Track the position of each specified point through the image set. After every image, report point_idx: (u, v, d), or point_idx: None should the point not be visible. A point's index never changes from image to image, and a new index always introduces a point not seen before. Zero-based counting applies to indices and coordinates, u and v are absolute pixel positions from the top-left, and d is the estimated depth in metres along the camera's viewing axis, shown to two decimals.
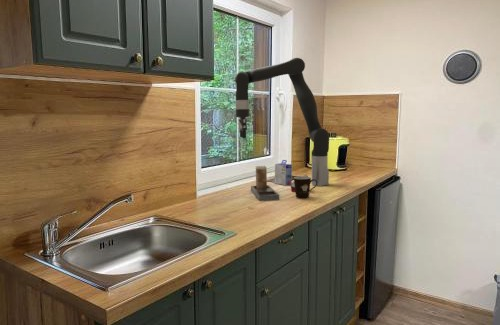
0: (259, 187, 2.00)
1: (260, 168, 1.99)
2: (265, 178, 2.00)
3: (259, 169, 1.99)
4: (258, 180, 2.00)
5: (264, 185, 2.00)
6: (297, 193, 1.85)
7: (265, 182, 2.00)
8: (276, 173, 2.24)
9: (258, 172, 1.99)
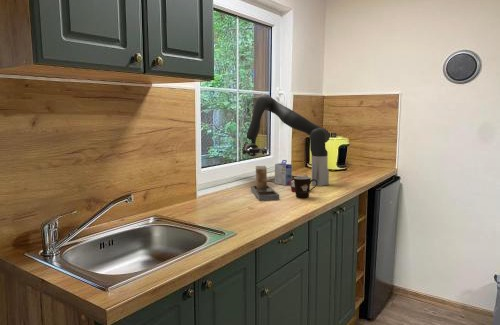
0: (259, 187, 2.00)
1: (260, 168, 1.99)
2: (265, 178, 2.00)
3: (259, 169, 1.99)
4: (258, 180, 2.00)
5: (264, 185, 2.00)
6: (297, 193, 1.85)
7: (265, 182, 2.00)
8: (276, 173, 2.24)
9: (258, 172, 1.99)
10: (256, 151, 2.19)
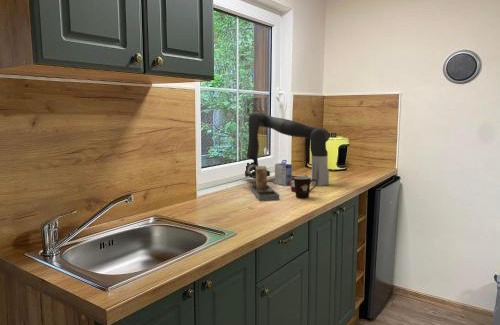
0: (259, 187, 2.00)
1: (260, 168, 1.99)
2: (265, 178, 2.00)
3: (259, 169, 1.99)
4: (258, 180, 2.00)
5: (264, 185, 2.00)
6: (297, 193, 1.85)
7: (265, 182, 2.00)
8: (276, 173, 2.24)
9: (258, 172, 1.99)
10: None
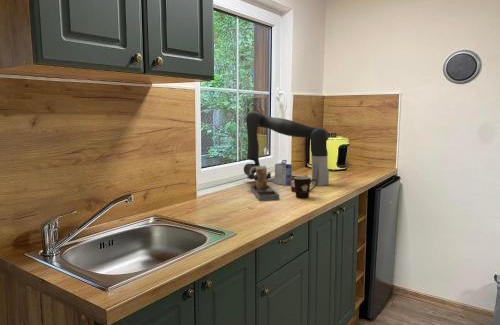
0: (259, 187, 2.00)
1: (260, 168, 1.99)
2: (265, 178, 2.00)
3: (259, 169, 1.99)
4: (258, 180, 2.00)
5: (264, 185, 2.00)
6: (297, 193, 1.85)
7: (265, 182, 2.00)
8: (276, 173, 2.24)
9: (258, 172, 1.99)
10: None
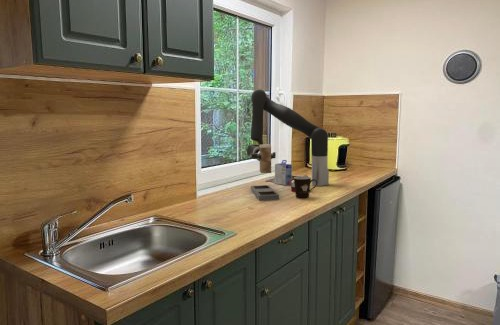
0: (263, 167, 1.85)
1: (264, 146, 1.83)
2: (269, 157, 1.84)
3: (263, 147, 1.83)
4: (262, 159, 1.84)
5: (268, 165, 1.85)
6: (297, 193, 1.85)
7: (269, 162, 1.85)
8: (276, 173, 2.24)
9: (262, 151, 1.83)
10: None
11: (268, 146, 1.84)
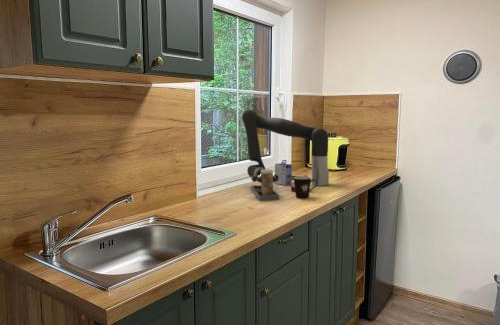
0: (265, 193, 1.84)
1: (266, 172, 1.83)
2: (271, 183, 1.84)
3: (265, 173, 1.83)
4: (264, 185, 1.84)
5: (270, 190, 1.85)
6: (297, 193, 1.85)
7: (271, 187, 1.85)
8: (276, 173, 2.24)
9: (264, 176, 1.83)
10: None
11: (270, 172, 1.84)
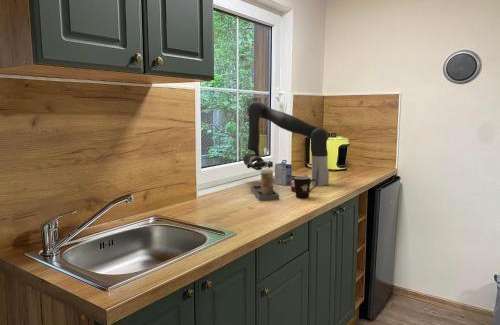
0: (265, 193, 1.84)
1: (266, 172, 1.83)
2: (271, 183, 1.84)
3: (265, 173, 1.83)
4: (264, 185, 1.84)
5: (270, 190, 1.85)
6: (297, 193, 1.85)
7: (271, 187, 1.85)
8: (276, 173, 2.24)
9: (264, 176, 1.83)
10: (261, 165, 2.06)
11: (270, 172, 1.84)
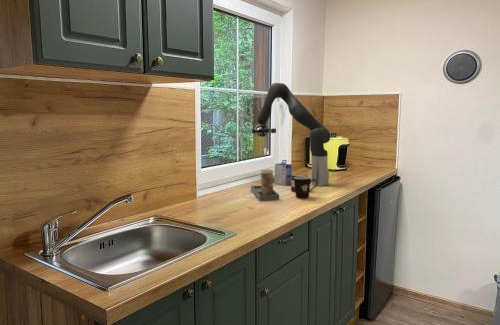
0: (265, 193, 1.84)
1: (266, 172, 1.83)
2: (271, 183, 1.84)
3: (265, 173, 1.83)
4: (264, 185, 1.84)
5: (270, 190, 1.85)
6: (297, 193, 1.85)
7: (271, 187, 1.85)
8: (276, 173, 2.24)
9: (264, 176, 1.83)
10: (265, 131, 2.25)
11: (270, 172, 1.84)
